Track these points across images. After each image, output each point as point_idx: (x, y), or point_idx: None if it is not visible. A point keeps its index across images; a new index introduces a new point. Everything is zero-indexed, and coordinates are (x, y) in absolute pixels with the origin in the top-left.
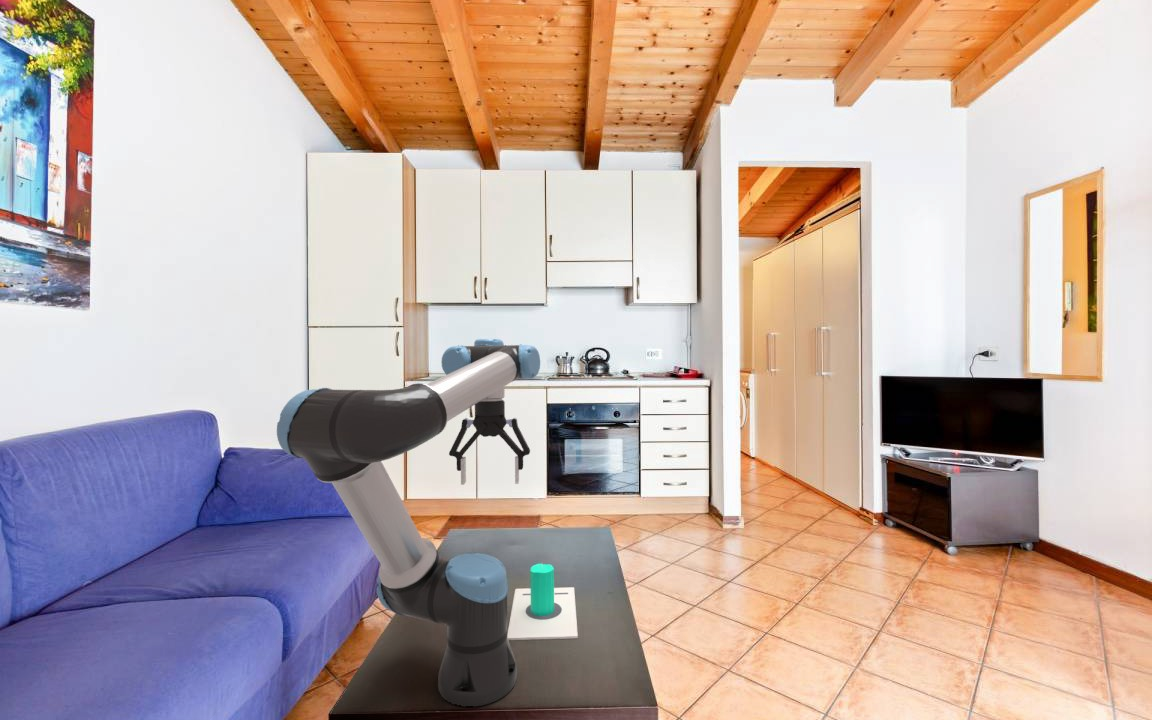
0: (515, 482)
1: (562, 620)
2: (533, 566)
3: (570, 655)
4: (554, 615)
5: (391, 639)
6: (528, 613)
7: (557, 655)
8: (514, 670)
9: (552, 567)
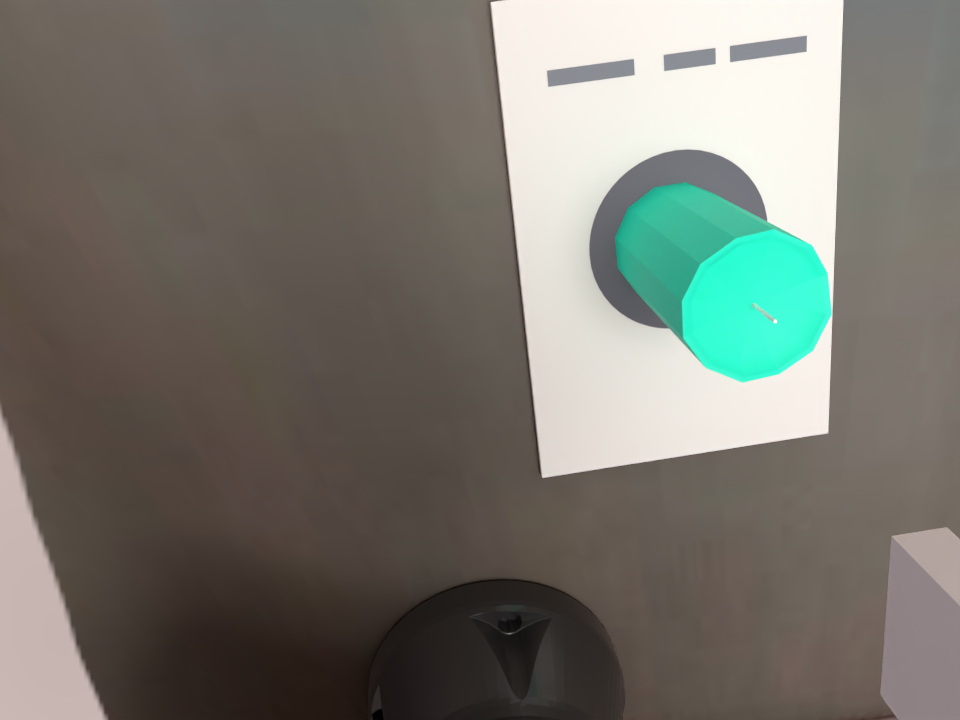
0: (897, 713)
1: None
2: (699, 283)
3: (790, 530)
4: None
5: (48, 520)
6: (607, 282)
7: (744, 535)
8: (623, 711)
9: (820, 270)
